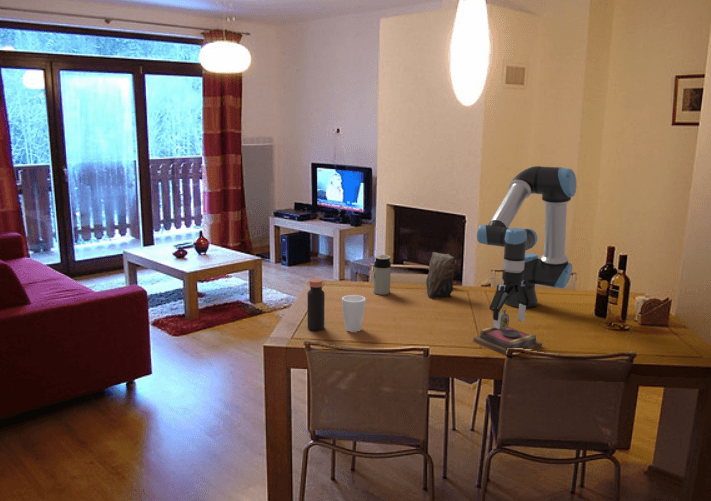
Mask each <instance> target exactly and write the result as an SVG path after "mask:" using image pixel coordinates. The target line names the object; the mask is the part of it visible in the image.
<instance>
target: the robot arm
mask: <svg viewBox="0 0 711 501" xmlns="http://www.w3.org/2000/svg"><path fill="white" fill-rule="evenodd" d="M576 191H577V177H576V174H575V172H574V170H573V169H571V168H566V167H559V166H558V167H557V166H555V167H553V166H540V165H536V166H531V167H527V168H526V169H524V170H522V171H520V172H519V173H518V174H517V175H516V176H515V177H513V178H512V180H511V182H510V183H509V184H508V191H507V193H506V195H505V196H504V198H503V200H501V201H502V202H501V203H500V204H499V206H498V208H497V209H496V211H495V213H494V215H493V216H492V218H491V219H490V220H489V223H488V224H481V225H479V227H478V228H477V231H476V239H477V241H478V243H479V244H483V245H487V246H493V247H494V246H496V247H502V248H504V249H503V250H504V251H503V264H502V265H503V266H502V268H503V270H502V275H501V279H502V281H503V284H499V283H498V284H497V285H496V290H495V292H494V295H493V298H492V301H491V303H490V306H489V310H490V311H492V314H493V316H492V320H493V323H492V324H493V325H492V327H495V328H497V329H500V323H501V315H502V309H503V306H504V305H507V304H508V305H507V306H509V305H511V306H510V307H513V306H515V307H514V308H518V307H519V308H518V310H517V311H518V312H517V321H518V322H522V323H524V322H525V320H526V312H527V308H526V307H533V306H536V305H537V306H538V298H537V297H538V296H537V292H536V285H539V286H544V287H550V288H554V289H556V288H558V289H564V288H566V287H567V286H568V283H569V281H570V279H571V276H572V272H573V263H571V262H569V257H568V256H567V255H566V253H565V250H566V234H567V232H566V230H567V210H568V203H569V202H570V201H572V198H573V197H575V196H576V193H577V192H576ZM532 194H537V195H541V200H542V201H543V202H544V203H545V207H544V208H545V210H544V211H545V212H544V214H545V215H544V246H543V248H544V251H543V254H542V255H541V256H540V257H539V255H538V254H537V253H527V252H526V251H527V250H530V249H532V248H533V247H534V246H535V245H536V244H537V242H538V238H539V237H538V234H537V232H536V231H535V230H534V229H532V228H521V227H510V226H511V224H512V223H513V220H514V219H515V218H516V216H517V214H518V212H519V210H520V209H521V207H522V205H523V204H524V202H525V200H526V199H527V198H529V197H530V196H531V195H532ZM505 303H506V304H505ZM537 306H536V307H537ZM533 308H534V307H533Z"/></svg>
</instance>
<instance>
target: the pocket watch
mask: <svg viewBox="0 0 711 501" xmlns="http://www.w3.org/2000/svg"><path fill="white" fill-rule="evenodd" d="M501 312H503V313H501V323H500V329H499V330H501V331H502V334H503V335H504V336H507V337H519V336H520V332H518V331H519V330H518V331H515V330H516V329H515V330H505V329H506V328H507V326H508V327H509V323H510V317H509V315H508V313H506V312H507V307H502V308H501ZM502 325H503V326H502Z"/></svg>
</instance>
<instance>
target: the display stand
mask: <svg viewBox="0 0 711 501" xmlns="http://www.w3.org/2000/svg"><path fill="white" fill-rule="evenodd" d="M502 326H503V325H502ZM505 330H515V331H518V332H520V336H519V337H507V336H504V335H503V334H502V331H501V330H499V329H497V328H495V327H493V326H491V327H487V328H483V329H480V332H479V335H477V336H474V337H473V338H472V339H473V340H472V342H474V343H477V344H479V345H481V346H483V347H485V348H488V349H490V350H493V351H495V352H497V353H499V354H501V355H504V356H506V351H507V348H523V349H534V350H537V349H539V348H538V347H540V348H542V347H543V342H541V341H538V340H537V334H535V333H532V334H528V333H525V332H523V331H520V330H518V329H516V328H513V327H510V326H509V325H508V326H507V328H506V329H505ZM541 346H542V347H541Z"/></svg>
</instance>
